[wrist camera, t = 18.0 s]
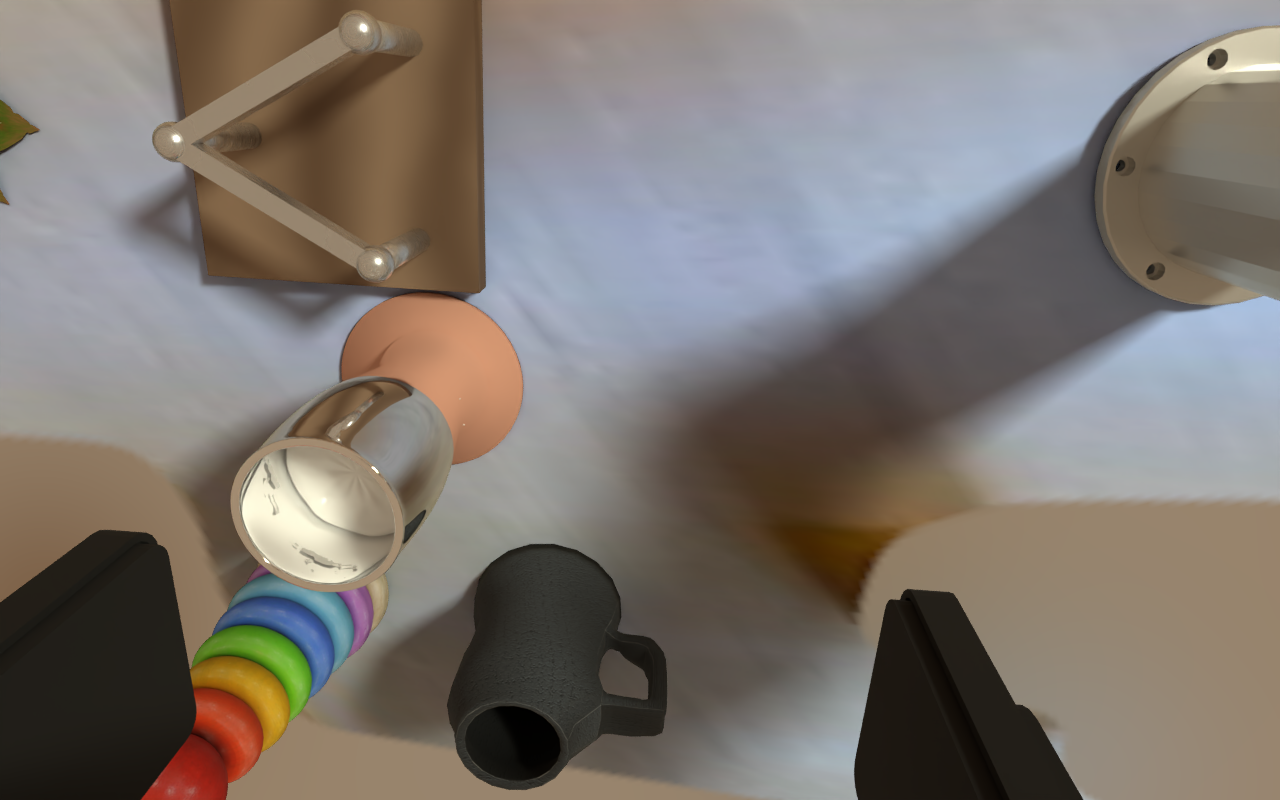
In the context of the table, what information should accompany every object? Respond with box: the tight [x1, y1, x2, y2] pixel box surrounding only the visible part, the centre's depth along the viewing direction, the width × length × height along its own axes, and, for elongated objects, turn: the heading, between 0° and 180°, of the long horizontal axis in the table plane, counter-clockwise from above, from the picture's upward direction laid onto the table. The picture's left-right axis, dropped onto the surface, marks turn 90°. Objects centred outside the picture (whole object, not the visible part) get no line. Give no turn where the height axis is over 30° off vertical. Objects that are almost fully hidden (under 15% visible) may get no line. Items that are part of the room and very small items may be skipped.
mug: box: [447, 544, 667, 790], centre depth 44 cm, size 12×9×11 cm
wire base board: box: [169, 0, 486, 293], centre depth 39 cm, size 14×14×2 cm
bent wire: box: [152, 10, 430, 283], centre depth 35 cm, size 10×11×7 cm
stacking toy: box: [141, 563, 389, 800], centre depth 40 cm, size 8×8×19 cm
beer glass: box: [230, 330, 489, 592], centre depth 36 cm, size 7×7×15 cm
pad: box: [342, 292, 523, 464], centre depth 44 cm, size 10×10×1 cm
